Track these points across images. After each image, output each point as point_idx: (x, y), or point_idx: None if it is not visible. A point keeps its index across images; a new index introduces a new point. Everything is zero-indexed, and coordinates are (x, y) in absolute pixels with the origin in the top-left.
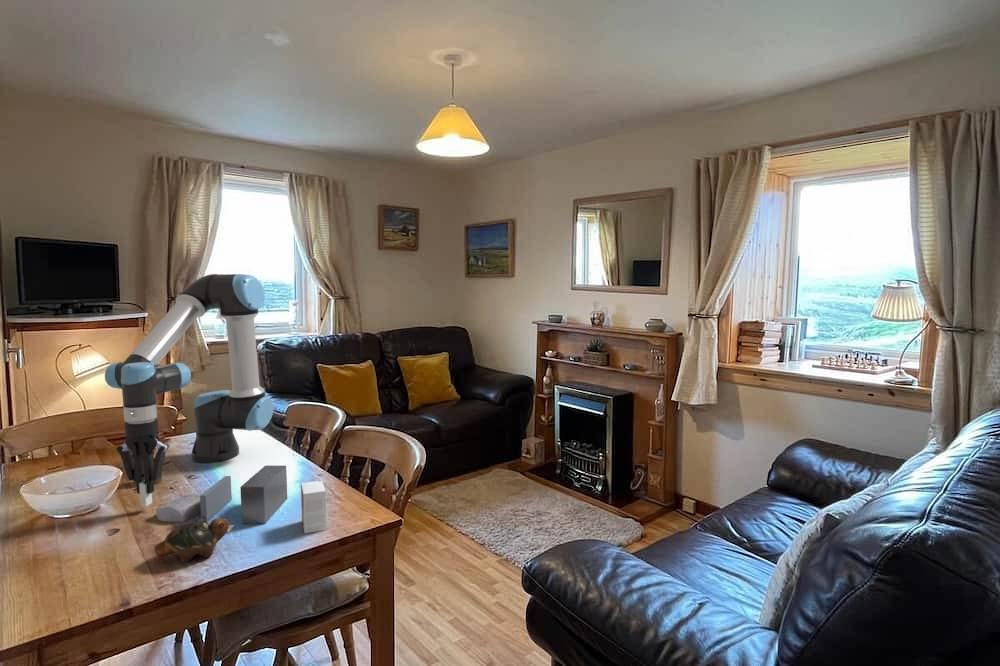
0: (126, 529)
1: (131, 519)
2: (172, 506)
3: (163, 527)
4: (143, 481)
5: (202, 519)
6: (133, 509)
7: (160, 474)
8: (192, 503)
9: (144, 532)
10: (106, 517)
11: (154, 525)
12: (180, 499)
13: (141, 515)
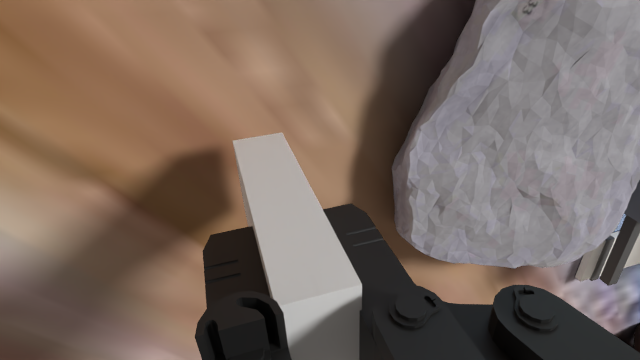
0: None
1: None
2: (538, 263)
3: (466, 275)
4: (296, 350)
5: (637, 232)
6: (108, 138)
7: (586, 341)
8: (628, 187)
9: None
10: (37, 283)
11: (418, 273)
12: (507, 81)
13: None
